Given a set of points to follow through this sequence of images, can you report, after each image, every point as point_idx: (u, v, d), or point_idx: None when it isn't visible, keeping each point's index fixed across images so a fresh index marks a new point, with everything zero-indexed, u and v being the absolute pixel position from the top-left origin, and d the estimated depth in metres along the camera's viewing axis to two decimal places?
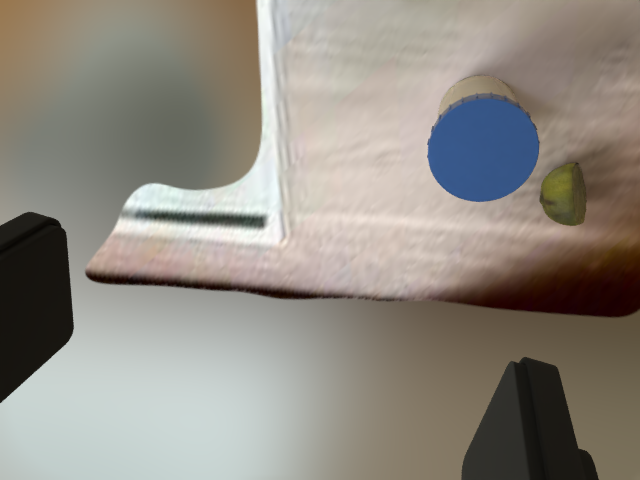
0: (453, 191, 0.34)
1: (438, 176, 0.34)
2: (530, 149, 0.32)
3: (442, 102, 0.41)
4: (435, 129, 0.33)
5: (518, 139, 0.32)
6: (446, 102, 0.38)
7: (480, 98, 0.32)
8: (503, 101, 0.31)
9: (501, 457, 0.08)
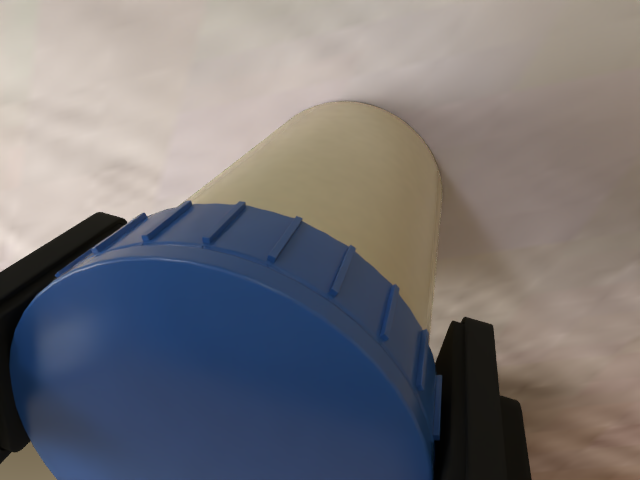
0: None
1: (36, 431, 0.09)
2: None
3: None
4: (50, 289, 0.07)
5: None
6: (255, 150, 0.12)
7: (276, 279, 0.06)
8: (363, 351, 0.06)
9: None
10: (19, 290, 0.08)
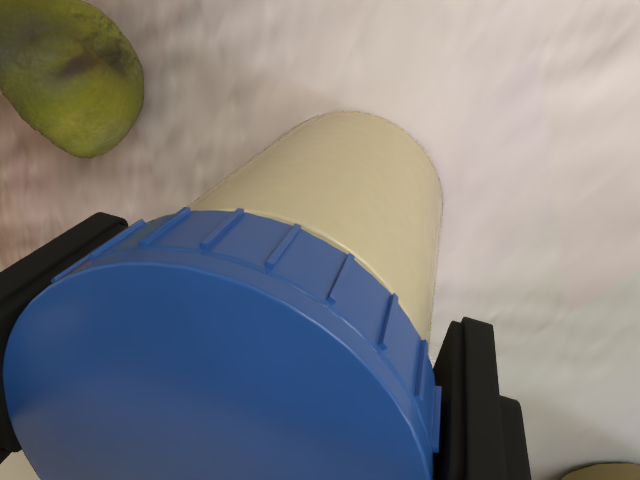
0: None
1: (28, 440, 0.08)
2: None
3: None
4: (45, 295, 0.07)
5: None
6: None
7: (273, 286, 0.06)
8: (360, 360, 0.06)
9: None
10: (19, 290, 0.08)
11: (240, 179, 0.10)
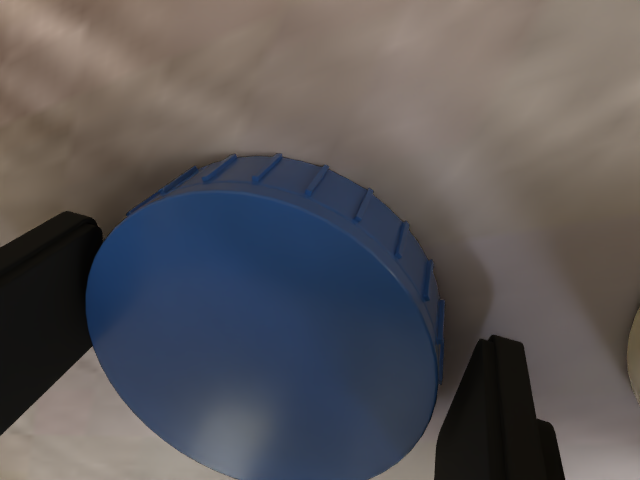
0: (136, 406, 0.11)
1: (104, 351, 0.10)
2: (391, 433, 0.09)
3: None
4: (126, 222, 0.09)
5: (371, 391, 0.09)
6: None
7: (312, 207, 0.08)
8: (382, 263, 0.08)
9: (467, 427, 0.08)
10: None
11: None
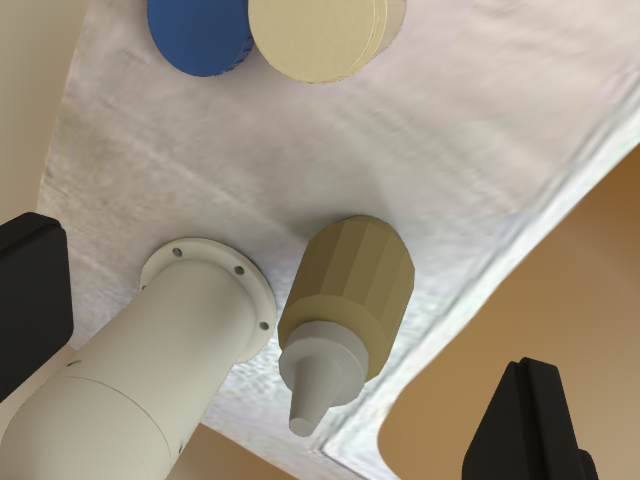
0: (161, 48, 0.34)
1: (152, 25, 0.33)
2: (236, 40, 0.32)
3: None
4: None
5: (229, 24, 0.32)
6: None
7: None
8: None
9: (501, 457, 0.08)
10: None
11: None
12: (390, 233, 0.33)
